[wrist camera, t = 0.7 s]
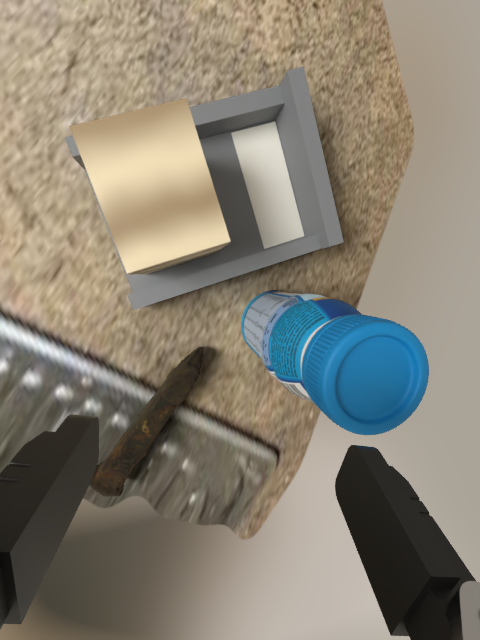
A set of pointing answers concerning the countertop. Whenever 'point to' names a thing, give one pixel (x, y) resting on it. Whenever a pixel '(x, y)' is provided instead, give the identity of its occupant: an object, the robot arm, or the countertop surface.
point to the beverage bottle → (338, 358)
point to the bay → (254, 188)
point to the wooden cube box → (153, 186)
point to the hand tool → (146, 427)
